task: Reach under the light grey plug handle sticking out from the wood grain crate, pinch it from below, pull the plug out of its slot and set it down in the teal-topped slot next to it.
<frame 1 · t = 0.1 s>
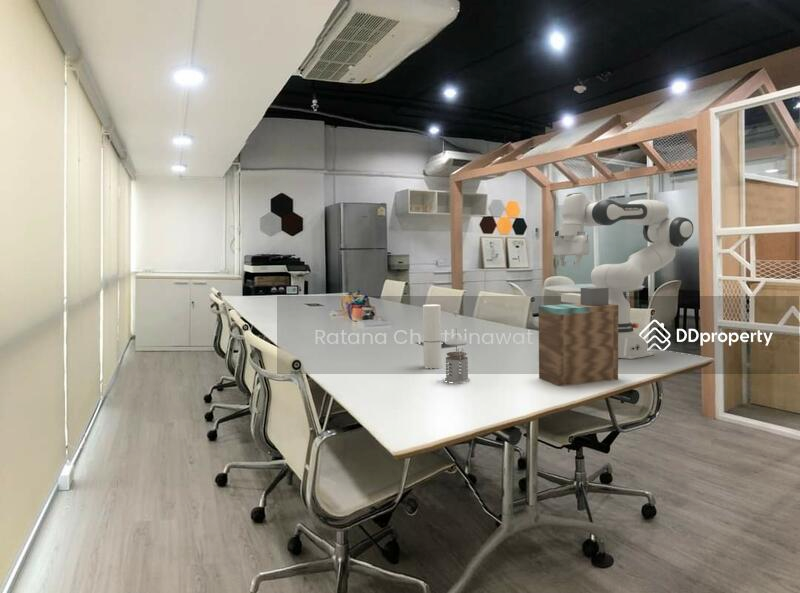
hand: (569, 266, 216), 39 cm above the table, tool pointing down, fingers open, 8 cm apart
plug: (588, 304, 188), point 26 cm above the table, touching wood grain crate
cylindrical container: (432, 367, 212), on the table
wood grain crate: (578, 378, 186), on the table
french press: (457, 381, 188), on the table
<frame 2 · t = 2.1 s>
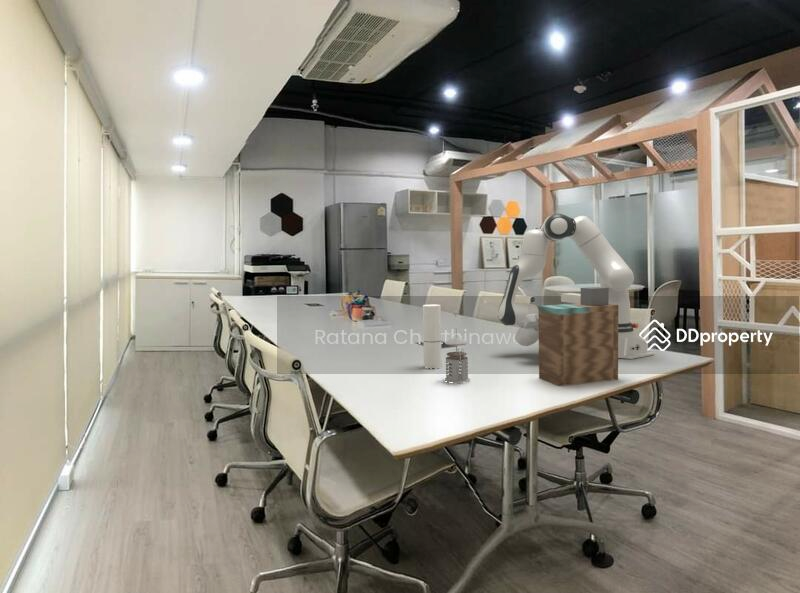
hand: (556, 312, 208), 21 cm above the table, tool pointing upward, fingers open, 8 cm apart
nothing on the table moved.
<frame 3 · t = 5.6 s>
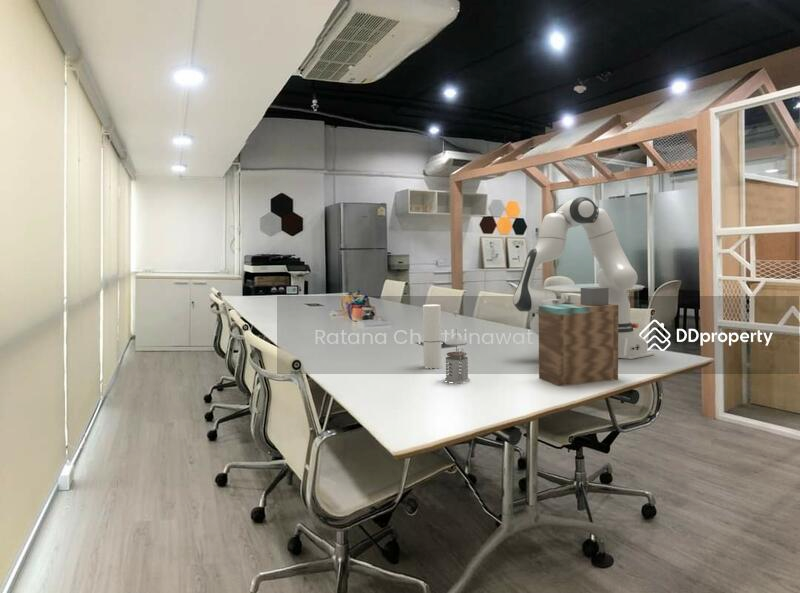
hand: (574, 297, 196), 28 cm above the table, tool pointing upward, fingers closed on plug, 4 cm apart
plug: (588, 304, 188), point 26 cm above the table, touching wood grain crate, gripper
everything else where it was.
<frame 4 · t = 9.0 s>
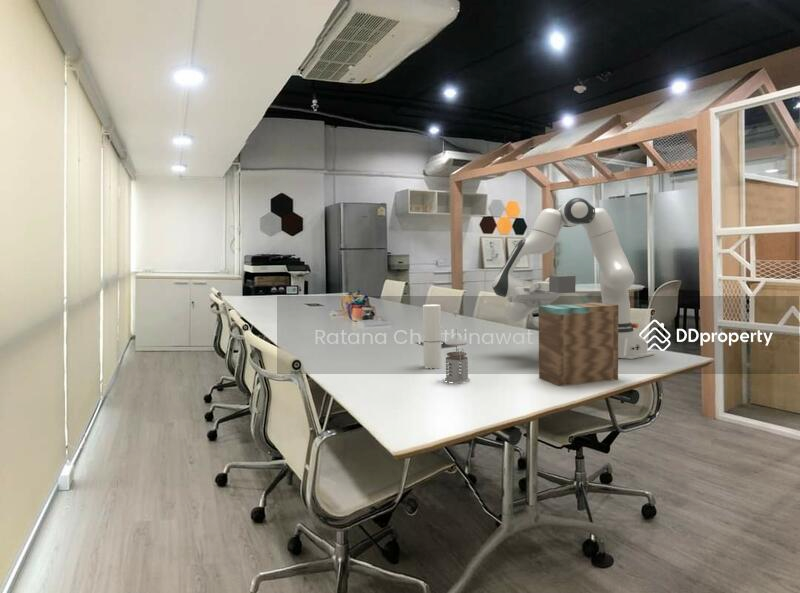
hand: (544, 284, 203), 32 cm above the table, tool pointing upward, fingers closed on plug, 4 cm apart
plug: (557, 291, 195), point 30 cm above the table, touching gripper
everything else where it was.
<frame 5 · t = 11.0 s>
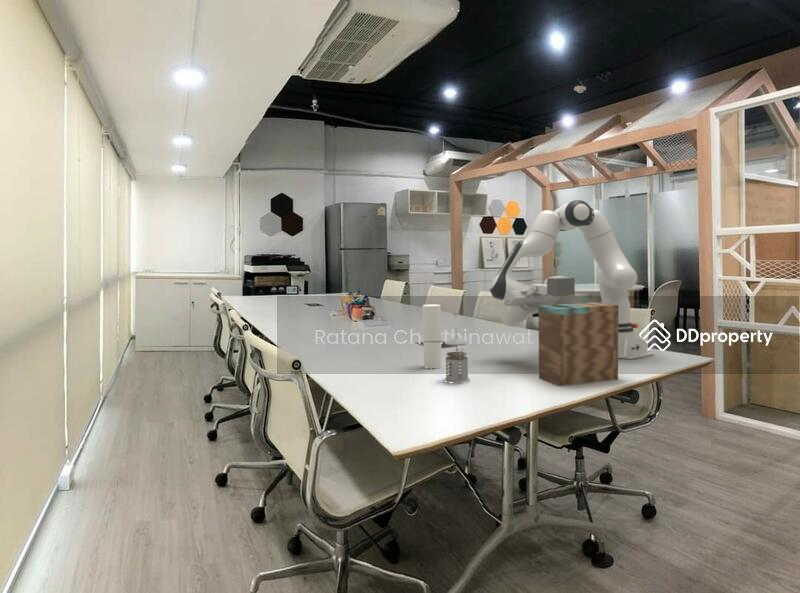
hand: (542, 287, 194), 32 cm above the table, tool pointing upward, fingers closed on plug, 4 cm apart
plug: (555, 294, 186), point 30 cm above the table, touching gripper
everything else where it was.
when the fingers open (29 cm above the table, at t = 12.7 s): plug drops 1 cm, resting on wood grain crate.
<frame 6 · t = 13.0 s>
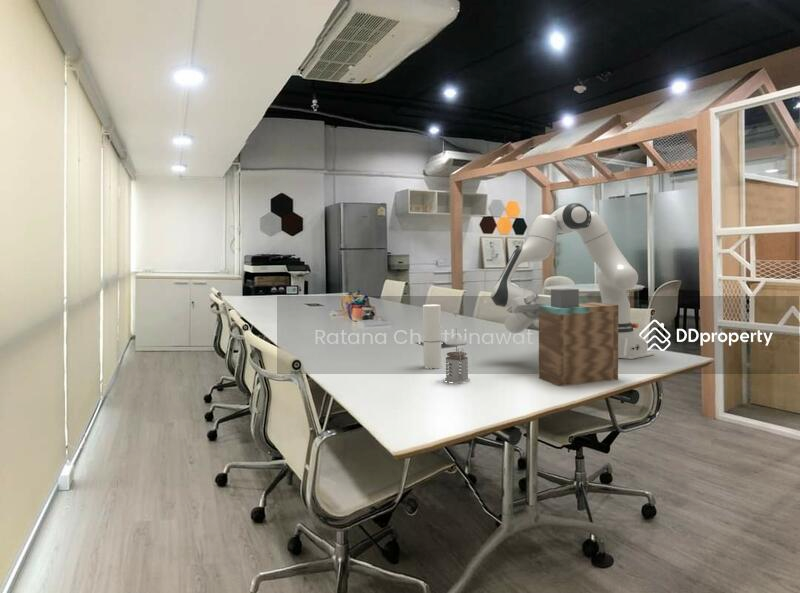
hand: (546, 294, 192), 29 cm above the table, tool pointing upward, fingers open, 7 cm apart
plug: (559, 305, 185), point 26 cm above the table, touching wood grain crate
everything else where it was.
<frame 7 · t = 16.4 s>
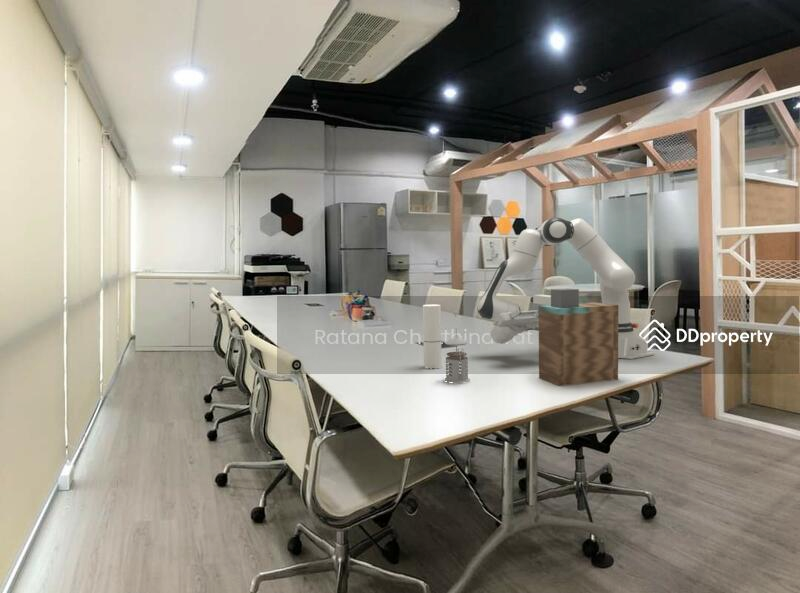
hand: (530, 310, 204), 23 cm above the table, tool pointing upward, fingers open, 8 cm apart
nothing on the table moved.
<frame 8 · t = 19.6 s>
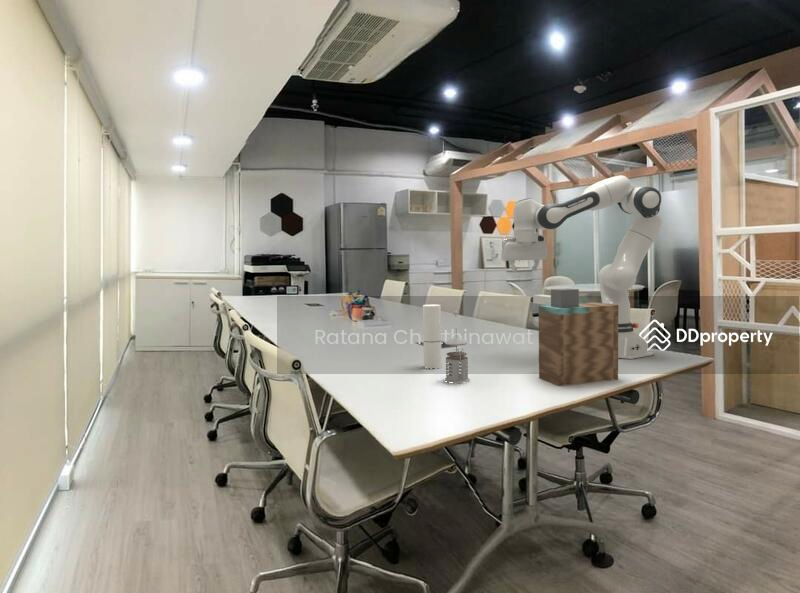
hand: (524, 271, 221), 37 cm above the table, tool pointing down, fingers open, 8 cm apart
nothing on the table moved.
at the end: plug inside the target area (0.1 cm from its centre), point 26.0 cm above the table; plug tilted 0°; the gripper is holding nothing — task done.
